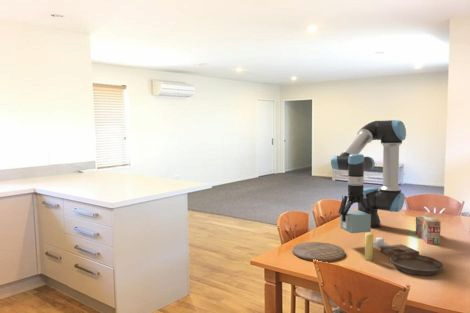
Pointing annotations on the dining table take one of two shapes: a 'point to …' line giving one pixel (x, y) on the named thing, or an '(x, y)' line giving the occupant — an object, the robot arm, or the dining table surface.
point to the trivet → (318, 251)
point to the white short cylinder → (379, 243)
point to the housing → (357, 222)
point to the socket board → (397, 250)
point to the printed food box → (428, 229)
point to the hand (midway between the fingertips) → (355, 227)
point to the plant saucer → (416, 264)
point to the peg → (369, 246)
